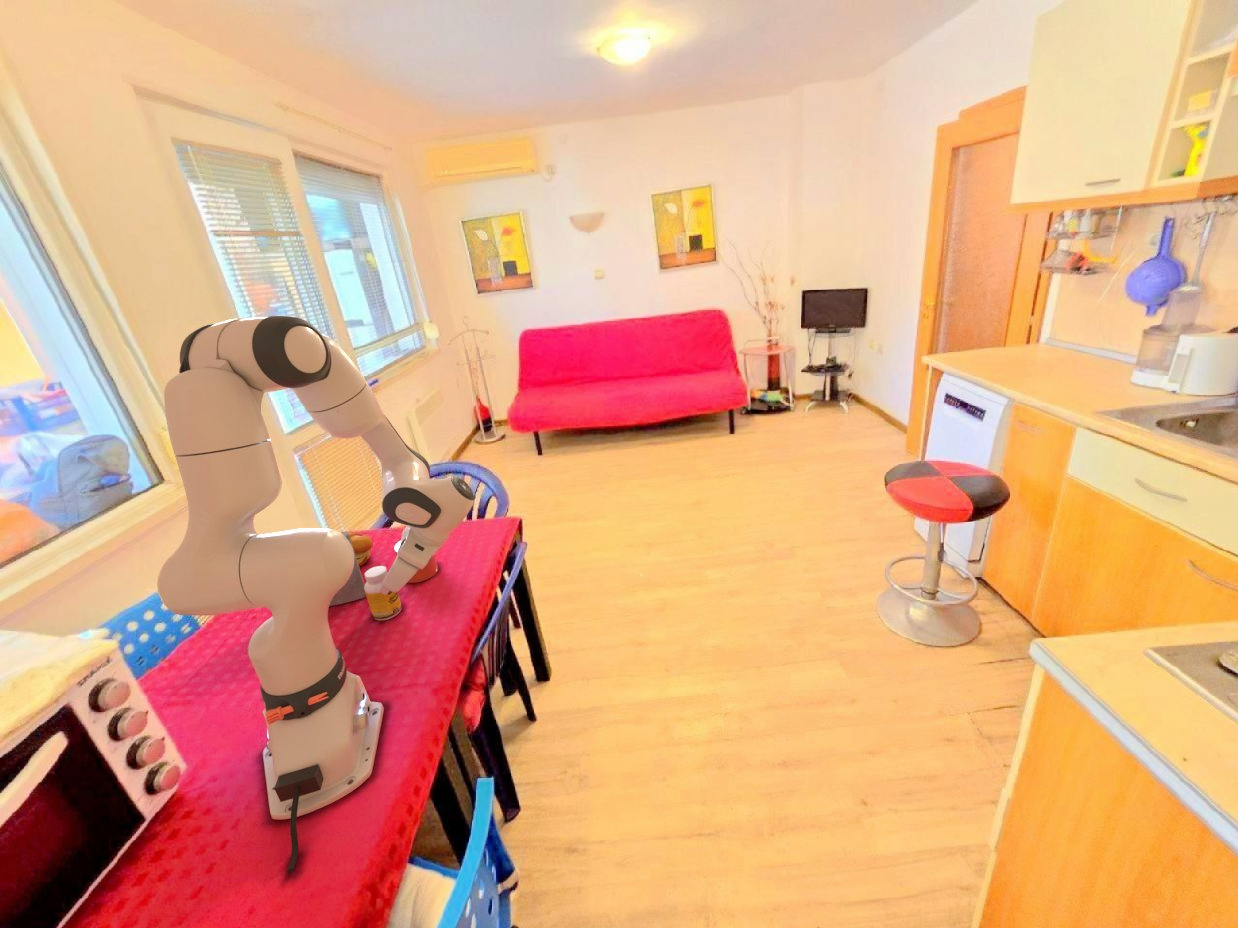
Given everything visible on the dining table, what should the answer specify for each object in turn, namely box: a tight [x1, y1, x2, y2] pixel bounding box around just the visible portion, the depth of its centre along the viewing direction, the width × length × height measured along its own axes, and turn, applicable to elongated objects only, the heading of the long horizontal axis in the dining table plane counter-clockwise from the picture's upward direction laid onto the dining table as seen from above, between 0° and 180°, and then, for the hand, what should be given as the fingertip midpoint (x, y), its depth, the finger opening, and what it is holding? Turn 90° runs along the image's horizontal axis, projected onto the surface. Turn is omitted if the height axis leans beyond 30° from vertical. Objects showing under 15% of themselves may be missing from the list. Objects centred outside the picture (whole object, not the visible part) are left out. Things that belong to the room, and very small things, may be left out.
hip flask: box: [329, 531, 366, 607], centre depth 122 cm, size 16×4×20 cm, turn 102°
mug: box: [394, 540, 439, 584], centre depth 134 cm, size 12×9×9 cm
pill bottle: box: [364, 565, 403, 621], centre depth 118 cm, size 6×6×12 cm
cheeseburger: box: [347, 531, 374, 568], centre depth 142 cm, size 10×11×10 cm
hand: (390, 579), depth 117 cm, fingers open, 8 cm apart
